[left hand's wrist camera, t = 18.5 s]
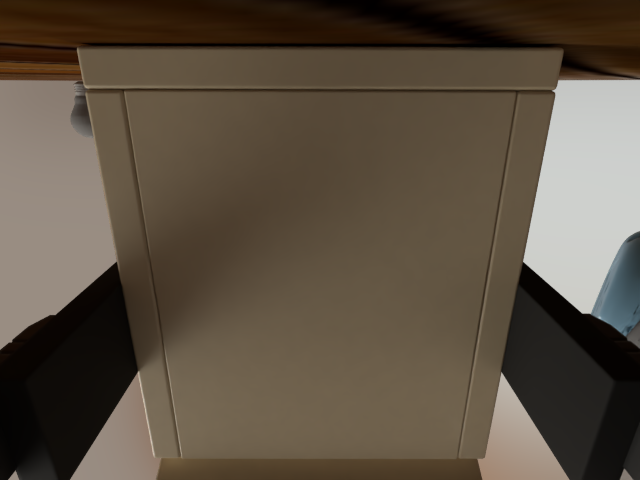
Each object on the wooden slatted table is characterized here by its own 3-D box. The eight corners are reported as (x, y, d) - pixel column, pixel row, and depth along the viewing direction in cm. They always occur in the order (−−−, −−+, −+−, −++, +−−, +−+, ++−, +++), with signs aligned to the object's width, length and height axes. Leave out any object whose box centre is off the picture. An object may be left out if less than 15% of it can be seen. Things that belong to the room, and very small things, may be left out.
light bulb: (91, 81, 70) (102, 139, 74) (104, 81, 76) (114, 135, 80) (55, 81, 70) (68, 139, 73) (71, 81, 75) (83, 135, 79)
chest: (403, 77, 24) (391, 251, 28) (236, 76, 24) (247, 251, 28) (566, 47, 8) (485, 459, 12) (74, 45, 8) (152, 459, 12)
